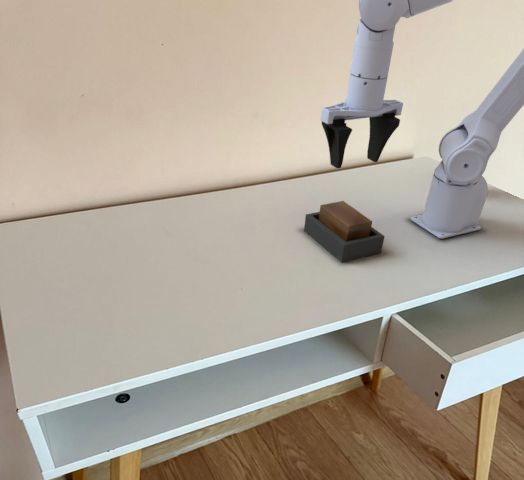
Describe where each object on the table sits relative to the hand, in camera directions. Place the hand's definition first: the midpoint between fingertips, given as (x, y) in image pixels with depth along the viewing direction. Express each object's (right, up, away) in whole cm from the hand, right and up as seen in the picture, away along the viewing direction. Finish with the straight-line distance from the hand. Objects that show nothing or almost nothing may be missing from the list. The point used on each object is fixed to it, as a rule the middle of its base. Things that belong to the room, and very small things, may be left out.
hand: (354, 163), depth 92 cm
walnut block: (-2, -13, -2) cm, 13 cm away
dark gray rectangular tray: (-2, -13, -2) cm, 14 cm away
